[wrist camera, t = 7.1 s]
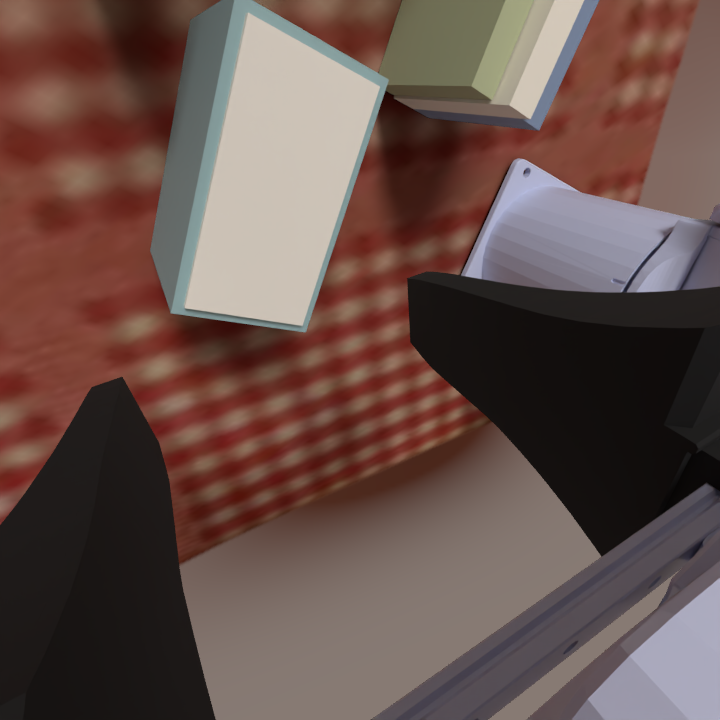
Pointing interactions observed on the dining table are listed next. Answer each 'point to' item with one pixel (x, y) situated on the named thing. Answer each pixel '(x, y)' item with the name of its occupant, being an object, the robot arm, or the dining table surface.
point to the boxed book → (258, 167)
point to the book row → (483, 57)
